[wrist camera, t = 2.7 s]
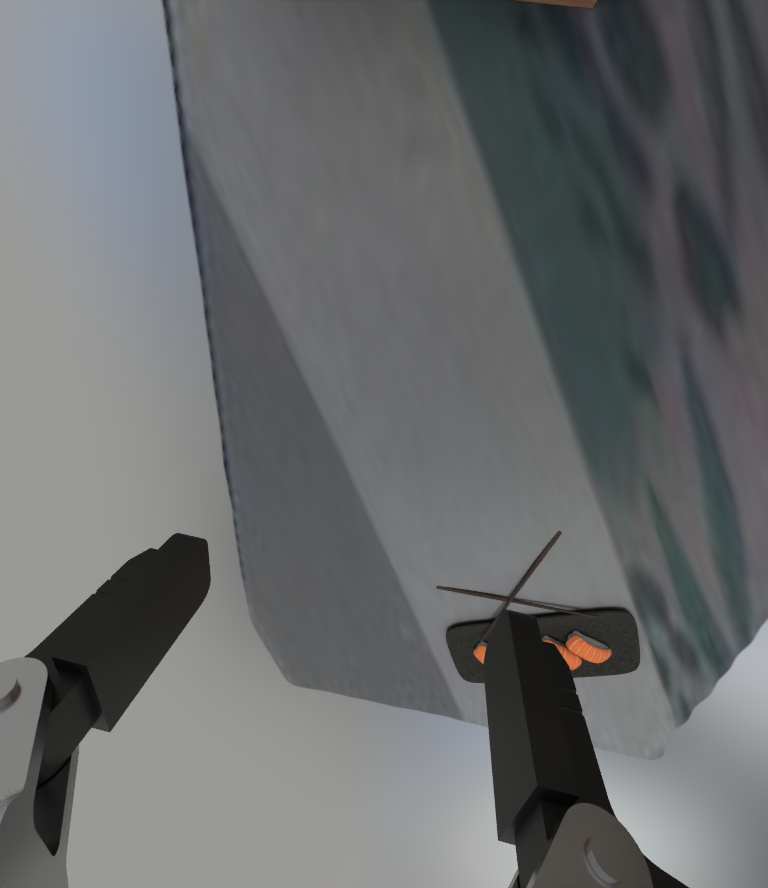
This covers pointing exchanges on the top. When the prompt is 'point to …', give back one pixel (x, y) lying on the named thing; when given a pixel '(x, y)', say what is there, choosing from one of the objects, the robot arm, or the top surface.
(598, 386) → the top surface
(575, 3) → the tall open box
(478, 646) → the sushi plate
